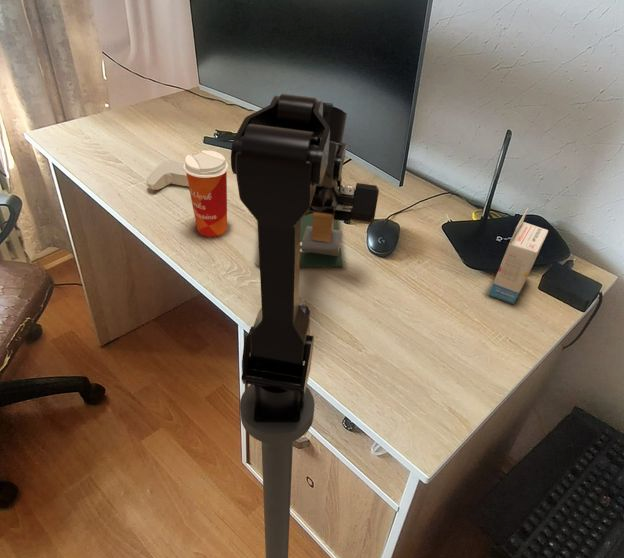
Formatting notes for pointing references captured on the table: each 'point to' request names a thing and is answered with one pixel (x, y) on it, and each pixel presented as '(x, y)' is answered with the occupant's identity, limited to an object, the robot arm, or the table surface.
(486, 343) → the table surface
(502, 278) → the ink box
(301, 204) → the robot arm
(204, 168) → the coffee cup
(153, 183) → the game controller
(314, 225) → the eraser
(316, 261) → the chalkboard
